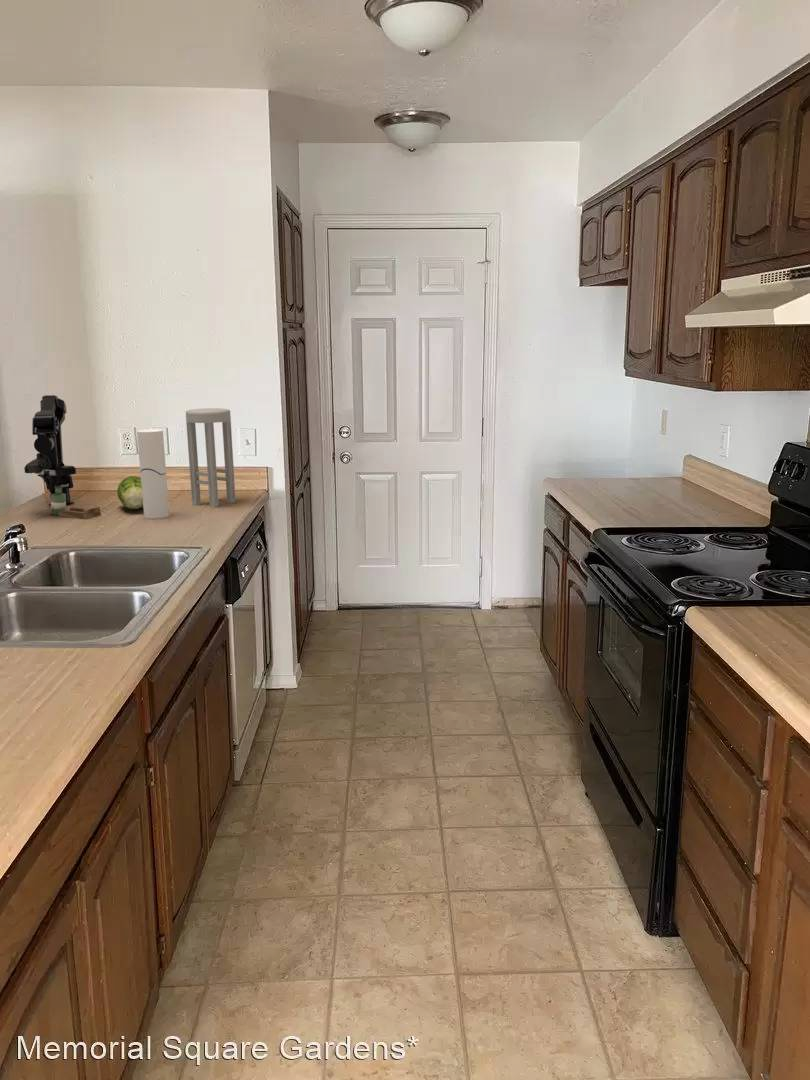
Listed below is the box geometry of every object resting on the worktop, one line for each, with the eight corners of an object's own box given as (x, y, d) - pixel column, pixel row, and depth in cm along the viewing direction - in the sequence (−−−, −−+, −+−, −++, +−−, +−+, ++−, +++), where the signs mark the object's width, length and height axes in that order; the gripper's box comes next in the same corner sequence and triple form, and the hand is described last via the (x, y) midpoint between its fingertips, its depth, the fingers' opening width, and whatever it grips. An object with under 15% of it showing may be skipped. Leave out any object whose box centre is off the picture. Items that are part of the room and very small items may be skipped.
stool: (214, 509, 305) (208, 412, 297) (184, 505, 313) (177, 410, 305) (243, 501, 318) (238, 409, 310) (213, 498, 326) (207, 407, 318)
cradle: (73, 512, 301) (72, 504, 300) (100, 515, 297) (99, 506, 296) (59, 516, 295) (58, 508, 294) (86, 519, 291) (86, 510, 290)
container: (162, 519, 289) (155, 432, 282) (139, 518, 291) (132, 431, 284) (173, 513, 298) (167, 429, 290) (151, 513, 299) (144, 429, 292)
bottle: (58, 510, 302) (58, 483, 299) (68, 513, 301) (68, 486, 298) (48, 513, 298) (48, 485, 295) (58, 515, 296) (58, 488, 293)
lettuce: (119, 516, 295) (116, 484, 292) (118, 505, 314) (115, 475, 311) (153, 513, 299) (151, 482, 296) (150, 503, 318) (147, 473, 315)
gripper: (9, 451, 291) (14, 495, 294) (50, 454, 284) (55, 499, 287) (34, 447, 301) (39, 490, 304) (75, 450, 294) (79, 493, 297)
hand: (52, 493), depth 298 cm, fingers closed
